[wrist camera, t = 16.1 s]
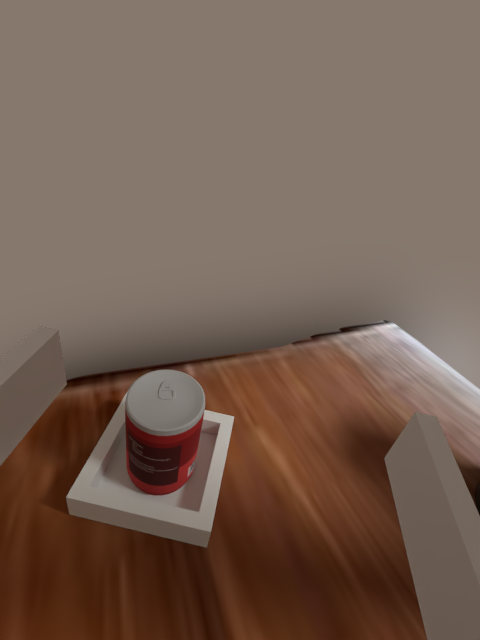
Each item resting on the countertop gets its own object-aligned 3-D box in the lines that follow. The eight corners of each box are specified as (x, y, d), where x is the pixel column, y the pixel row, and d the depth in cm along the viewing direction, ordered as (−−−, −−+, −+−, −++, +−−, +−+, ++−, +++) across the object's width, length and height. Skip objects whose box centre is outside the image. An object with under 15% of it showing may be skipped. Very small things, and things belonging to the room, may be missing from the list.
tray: (230, 432, 46) (234, 416, 44) (206, 547, 34) (210, 532, 32) (127, 408, 46) (127, 391, 44) (69, 514, 34) (65, 497, 32)
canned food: (182, 427, 44) (190, 362, 38) (205, 483, 38) (219, 418, 32) (119, 444, 40) (117, 376, 34) (135, 509, 35) (135, 441, 29)
